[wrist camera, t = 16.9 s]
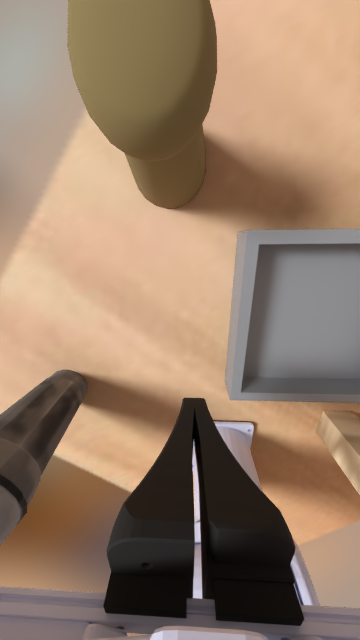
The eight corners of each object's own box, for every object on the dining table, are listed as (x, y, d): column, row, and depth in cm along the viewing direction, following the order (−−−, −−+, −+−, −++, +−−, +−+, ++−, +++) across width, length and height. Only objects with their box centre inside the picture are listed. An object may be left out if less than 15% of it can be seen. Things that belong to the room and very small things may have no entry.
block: (343, 432, 25) (398, 497, 19) (315, 431, 25) (360, 496, 19) (352, 411, 24) (413, 473, 17) (322, 410, 24) (372, 472, 18)
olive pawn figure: (121, 131, 15) (-16, -104, 5) (198, 106, 15) (222, -229, 4) (144, 216, 17) (79, 173, 7) (212, 198, 17) (251, 119, 6)
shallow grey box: (421, 384, 22) (454, 404, 19) (224, 381, 23) (230, 400, 20) (501, 229, 17) (565, 225, 14) (237, 232, 17) (247, 230, 15)
